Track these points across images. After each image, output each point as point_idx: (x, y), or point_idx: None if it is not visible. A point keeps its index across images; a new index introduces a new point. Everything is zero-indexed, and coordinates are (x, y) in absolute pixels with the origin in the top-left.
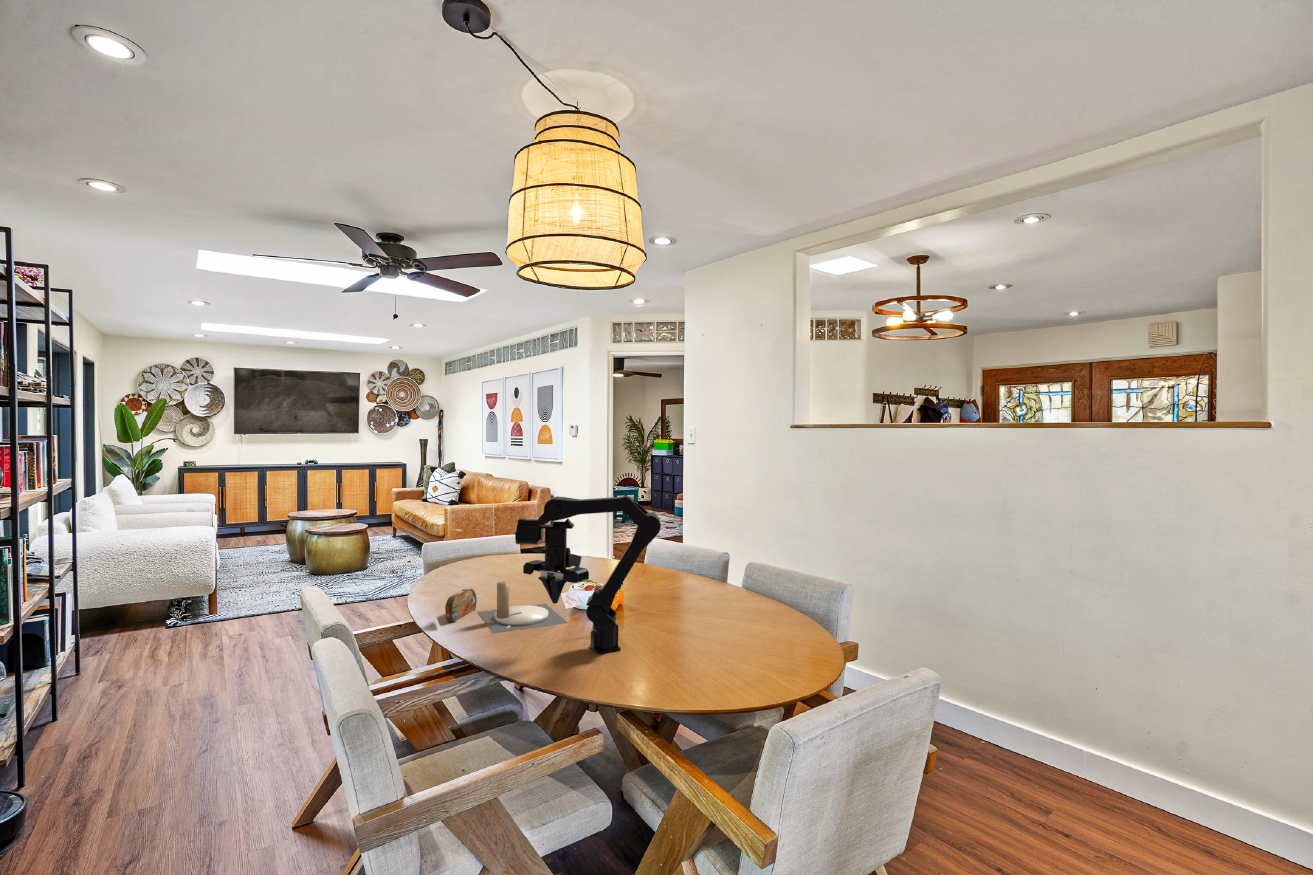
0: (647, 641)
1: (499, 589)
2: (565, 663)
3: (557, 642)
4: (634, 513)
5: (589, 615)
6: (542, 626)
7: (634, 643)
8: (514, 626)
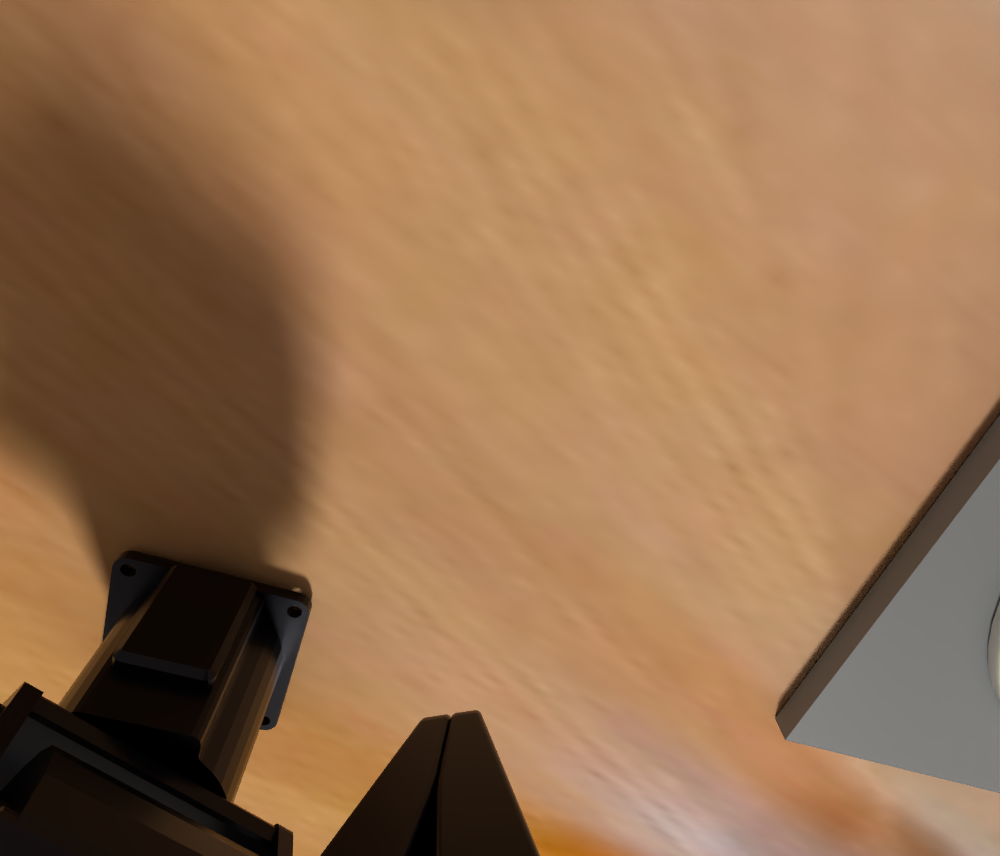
0: None
1: None
2: (75, 238)
3: (563, 486)
4: None
5: (22, 800)
6: (902, 585)
7: None
8: None
